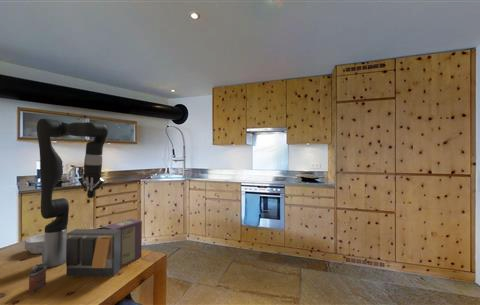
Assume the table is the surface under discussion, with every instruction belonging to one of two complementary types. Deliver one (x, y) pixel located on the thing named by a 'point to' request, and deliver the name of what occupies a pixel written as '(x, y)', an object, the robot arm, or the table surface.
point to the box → (129, 239)
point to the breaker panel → (91, 252)
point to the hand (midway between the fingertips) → (90, 197)
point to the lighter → (37, 278)
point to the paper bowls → (35, 244)
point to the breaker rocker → (100, 253)
